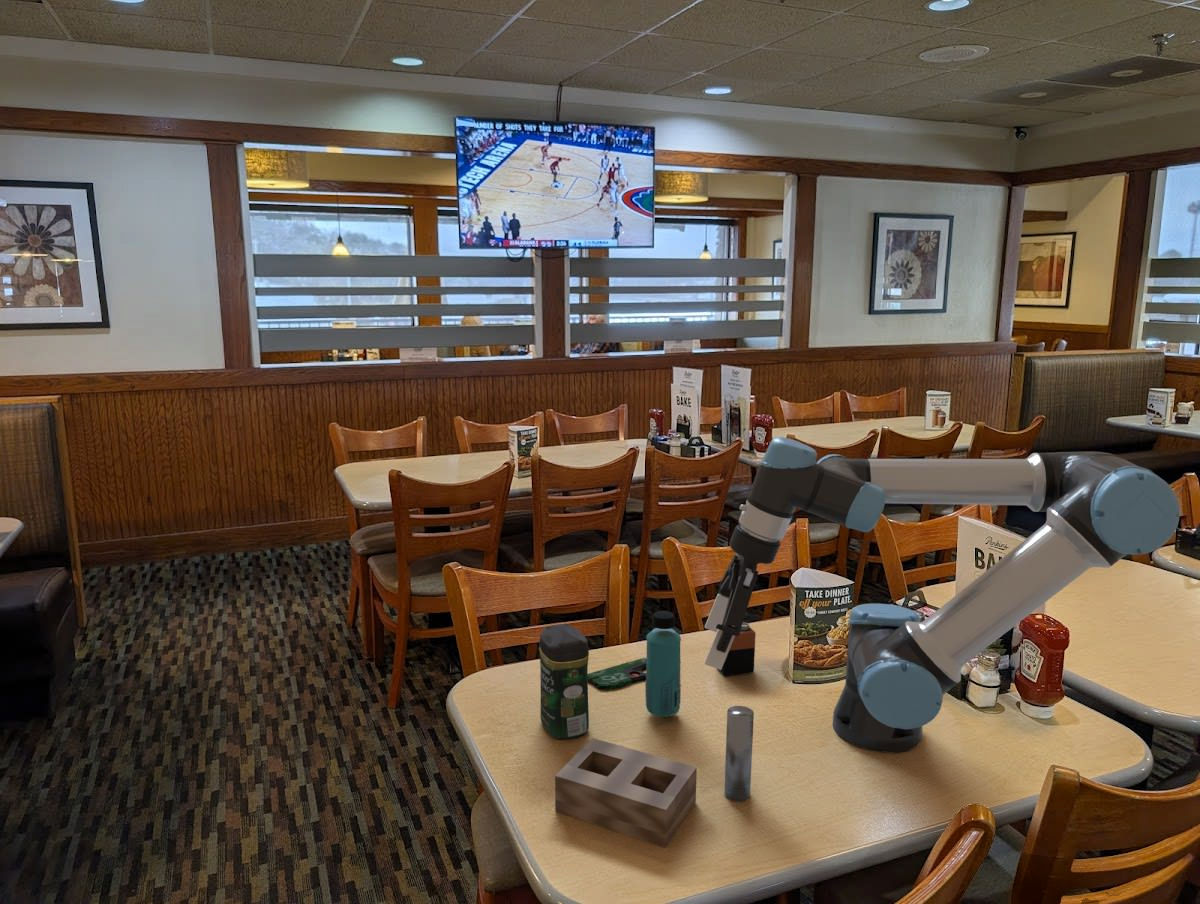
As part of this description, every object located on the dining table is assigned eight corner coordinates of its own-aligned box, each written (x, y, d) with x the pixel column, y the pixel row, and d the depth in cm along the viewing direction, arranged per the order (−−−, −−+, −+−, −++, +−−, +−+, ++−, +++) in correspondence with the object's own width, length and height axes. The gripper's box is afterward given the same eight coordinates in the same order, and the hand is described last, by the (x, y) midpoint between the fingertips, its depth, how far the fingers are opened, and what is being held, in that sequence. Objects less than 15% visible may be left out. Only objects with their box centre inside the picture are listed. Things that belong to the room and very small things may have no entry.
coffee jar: (534, 718, 155) (533, 623, 151) (575, 710, 158) (575, 617, 154) (552, 745, 146) (551, 644, 142) (594, 736, 149) (594, 637, 145)
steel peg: (753, 791, 133) (757, 709, 130) (745, 804, 129) (749, 721, 127) (729, 784, 135) (732, 703, 132) (720, 797, 131) (723, 714, 128)
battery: (754, 673, 173) (756, 627, 171) (723, 677, 171) (725, 631, 169) (745, 664, 177) (747, 619, 175) (715, 667, 175) (717, 622, 173)
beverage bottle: (678, 726, 152) (680, 622, 148) (641, 722, 153) (643, 619, 149) (682, 708, 158) (684, 608, 154) (647, 705, 160) (648, 605, 156)
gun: (609, 693, 162) (582, 673, 170) (609, 700, 162) (581, 679, 171) (676, 672, 171) (647, 654, 179) (676, 679, 171) (647, 660, 179)
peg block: (695, 802, 130) (696, 767, 129) (665, 847, 119) (666, 809, 118) (592, 771, 138) (592, 738, 137) (555, 811, 128) (555, 775, 126)
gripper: (734, 502, 146) (692, 609, 151) (740, 549, 122) (689, 674, 127) (775, 517, 146) (731, 623, 151) (789, 567, 122) (736, 692, 127)
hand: (712, 647), depth 139 cm, fingers open, 13 cm apart
